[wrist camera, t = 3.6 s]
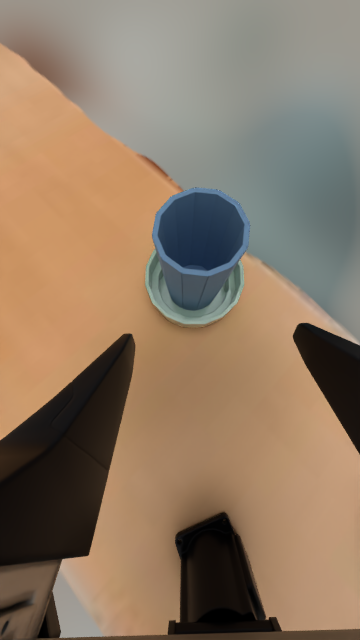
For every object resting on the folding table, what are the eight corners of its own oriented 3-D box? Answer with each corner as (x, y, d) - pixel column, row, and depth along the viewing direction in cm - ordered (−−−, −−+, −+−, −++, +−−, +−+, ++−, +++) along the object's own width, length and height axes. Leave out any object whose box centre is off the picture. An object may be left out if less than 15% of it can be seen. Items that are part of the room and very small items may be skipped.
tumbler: (179, 318, 22) (174, 290, 11) (161, 274, 23) (139, 207, 12) (224, 299, 22) (266, 253, 11) (205, 257, 23) (225, 175, 12)
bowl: (170, 340, 22) (166, 339, 18) (141, 268, 24) (131, 251, 20) (245, 309, 23) (260, 301, 18) (212, 240, 24) (219, 217, 20)
